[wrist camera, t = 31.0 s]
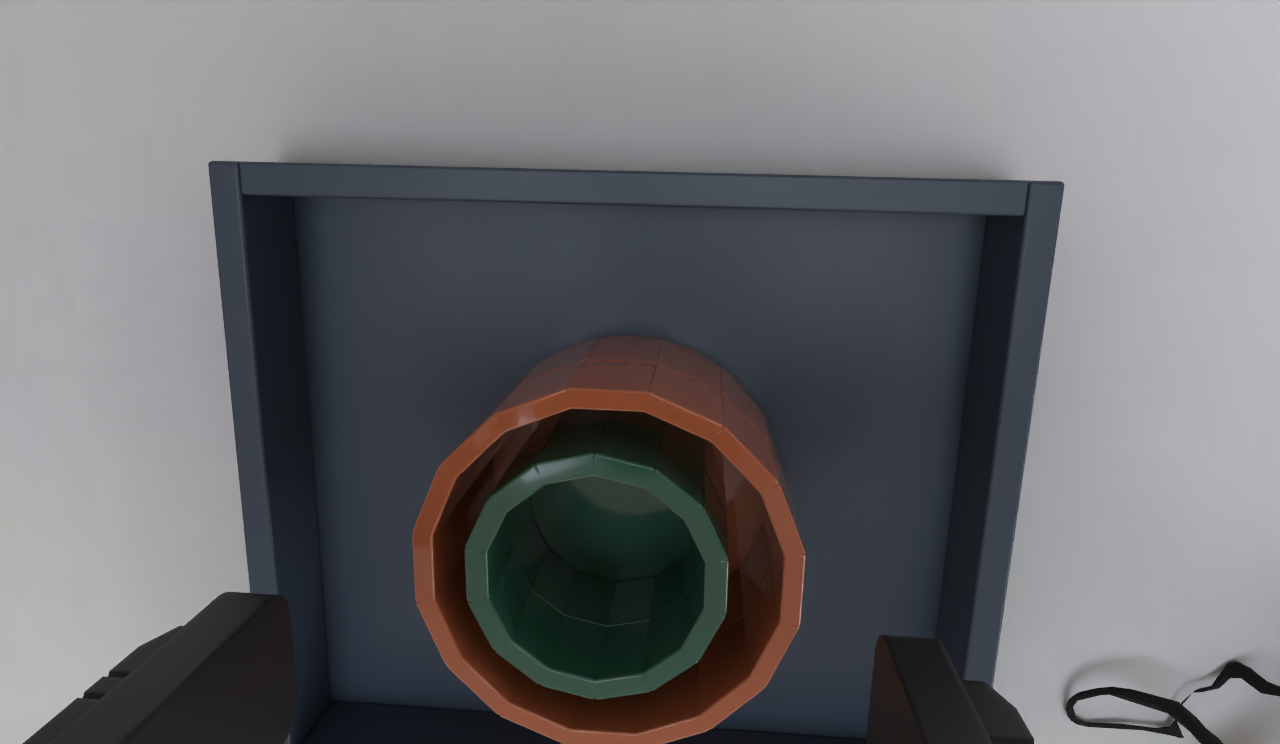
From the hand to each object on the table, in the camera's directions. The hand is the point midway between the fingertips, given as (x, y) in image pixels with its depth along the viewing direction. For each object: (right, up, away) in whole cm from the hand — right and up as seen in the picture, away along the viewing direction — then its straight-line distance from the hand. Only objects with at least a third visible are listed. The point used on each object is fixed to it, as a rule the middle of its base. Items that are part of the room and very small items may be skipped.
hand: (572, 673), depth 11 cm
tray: (+1, +2, +7) cm, 8 cm away
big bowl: (+1, +2, +7) cm, 7 cm away
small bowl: (0, +2, +6) cm, 7 cm away
